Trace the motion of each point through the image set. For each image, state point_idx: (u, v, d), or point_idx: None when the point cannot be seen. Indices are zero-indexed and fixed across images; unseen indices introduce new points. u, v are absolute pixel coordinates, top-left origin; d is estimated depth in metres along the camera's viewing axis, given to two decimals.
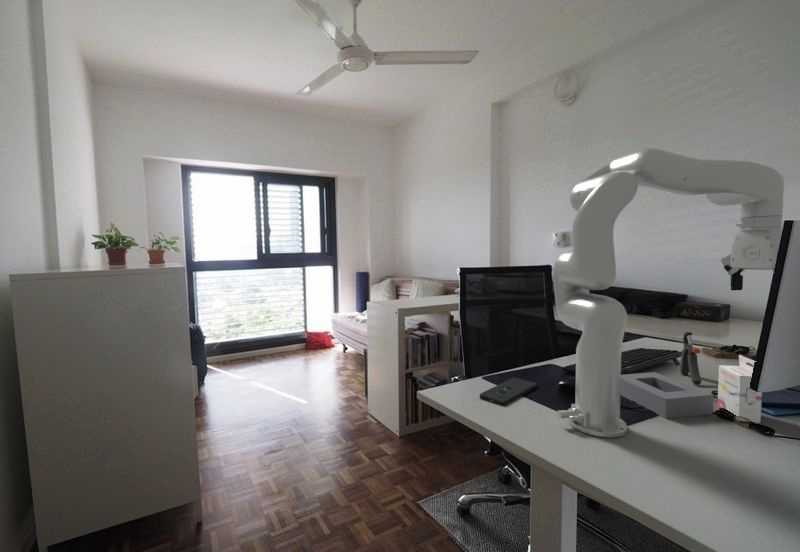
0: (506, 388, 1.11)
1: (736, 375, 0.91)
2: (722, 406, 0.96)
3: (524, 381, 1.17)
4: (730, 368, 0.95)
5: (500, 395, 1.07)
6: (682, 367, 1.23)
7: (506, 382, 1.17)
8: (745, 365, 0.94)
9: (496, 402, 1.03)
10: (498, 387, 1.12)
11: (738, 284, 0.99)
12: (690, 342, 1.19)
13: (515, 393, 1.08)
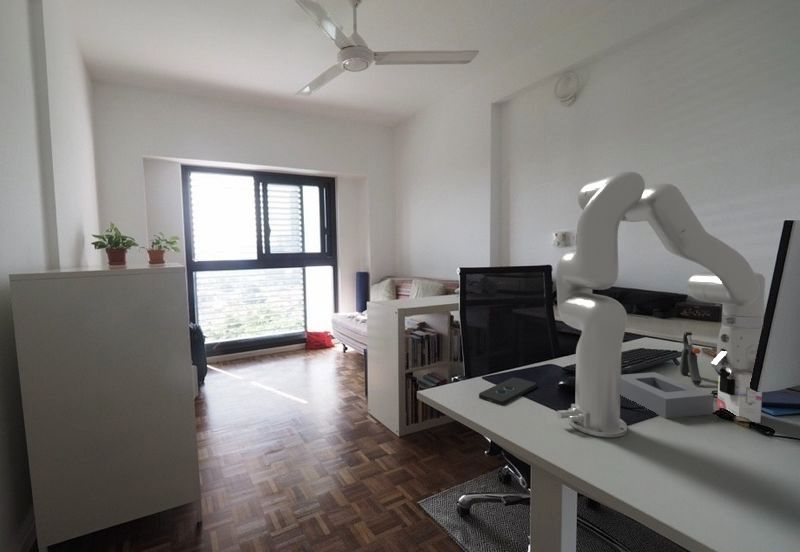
0: (505, 388, 1.12)
1: (736, 375, 0.91)
2: (722, 406, 0.96)
3: (524, 381, 1.18)
4: None
5: (499, 394, 1.07)
6: (682, 367, 1.23)
7: (506, 382, 1.17)
8: None
9: (495, 401, 1.04)
10: (497, 387, 1.13)
11: None
12: (690, 342, 1.19)
13: (515, 393, 1.08)
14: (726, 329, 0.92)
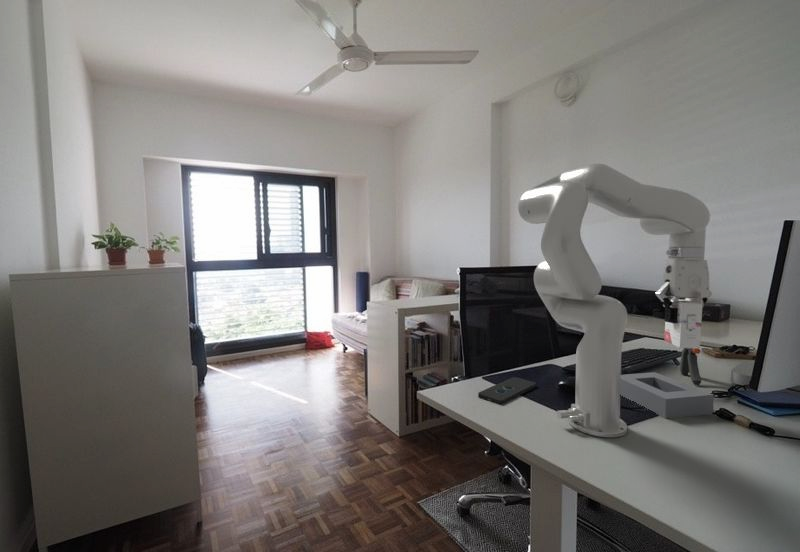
0: (505, 387, 1.12)
1: (678, 303, 0.96)
2: (668, 337, 1.01)
3: (524, 381, 1.18)
4: None
5: (498, 393, 1.08)
6: (682, 367, 1.23)
7: (506, 381, 1.17)
8: None
9: (494, 401, 1.04)
10: (497, 386, 1.13)
11: None
12: None
13: (514, 392, 1.08)
14: (670, 261, 0.97)
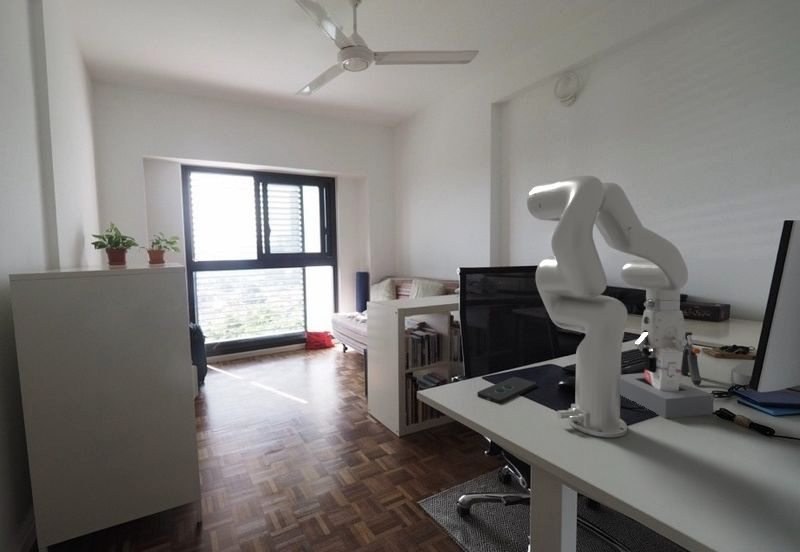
0: (505, 387, 1.12)
1: (660, 351, 0.98)
2: (648, 377, 1.05)
3: (524, 380, 1.18)
4: None
5: (498, 393, 1.08)
6: (682, 367, 1.23)
7: (506, 381, 1.18)
8: None
9: (493, 400, 1.05)
10: (497, 386, 1.14)
11: None
12: (690, 342, 1.19)
13: (513, 392, 1.09)
14: (648, 312, 1.01)
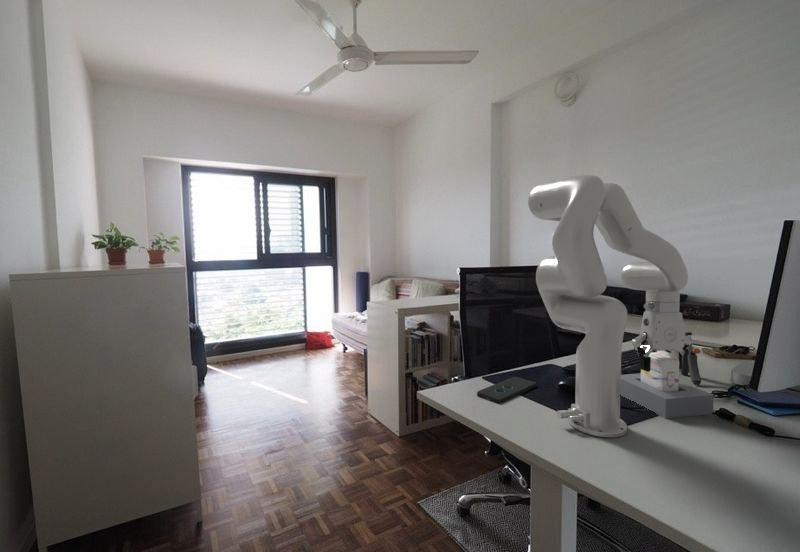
0: (504, 386, 1.13)
1: (659, 361, 0.99)
2: None
3: (524, 380, 1.18)
4: (651, 354, 1.04)
5: (497, 393, 1.08)
6: (682, 367, 1.23)
7: (506, 381, 1.18)
8: (662, 351, 1.04)
9: (492, 400, 1.05)
10: (496, 386, 1.14)
11: None
12: (690, 342, 1.19)
13: (513, 392, 1.09)
14: (647, 314, 1.01)
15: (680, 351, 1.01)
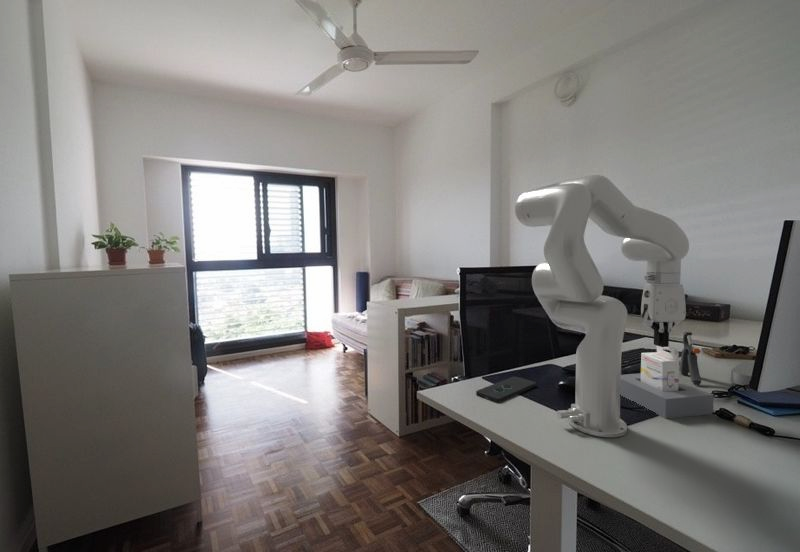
0: (504, 386, 1.13)
1: (659, 361, 0.99)
2: None
3: (524, 380, 1.18)
4: (651, 354, 1.04)
5: (496, 392, 1.09)
6: (682, 367, 1.23)
7: (506, 380, 1.18)
8: (662, 351, 1.04)
9: (491, 399, 1.05)
10: (496, 385, 1.14)
11: None
12: (690, 342, 1.19)
13: (512, 391, 1.09)
14: (648, 286, 1.00)
15: (667, 328, 1.00)
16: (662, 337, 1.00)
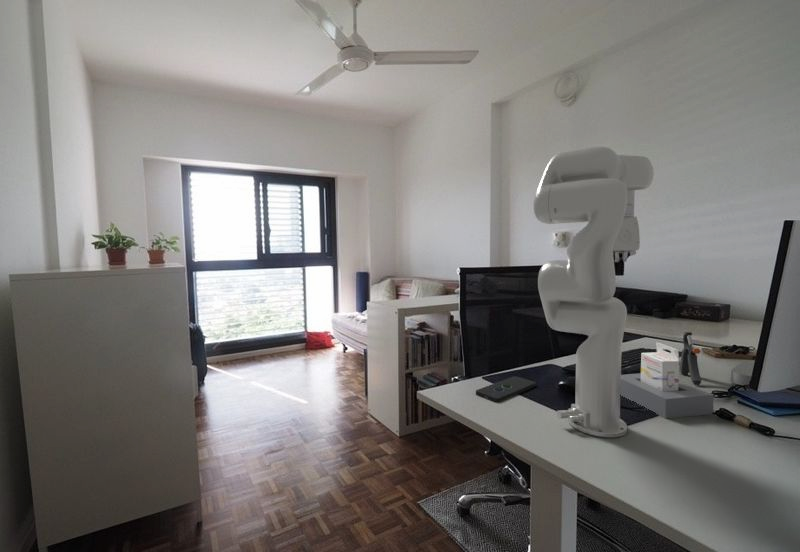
0: (504, 386, 1.13)
1: (659, 361, 0.99)
2: None
3: (524, 380, 1.18)
4: (651, 354, 1.04)
5: (496, 392, 1.09)
6: (682, 367, 1.23)
7: (505, 380, 1.18)
8: (662, 351, 1.04)
9: (490, 398, 1.06)
10: (496, 385, 1.14)
11: None
12: (690, 342, 1.19)
13: (512, 391, 1.09)
14: None
15: (622, 258, 1.08)
16: (618, 266, 1.08)
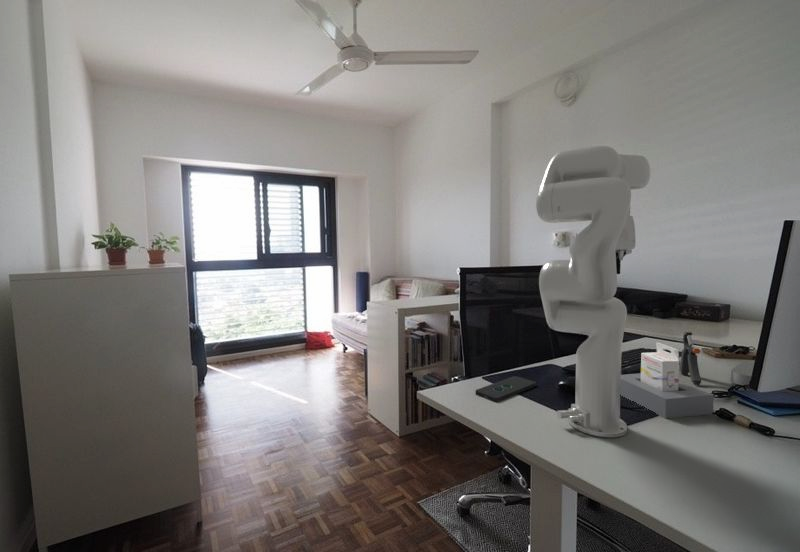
0: (503, 385, 1.13)
1: (659, 361, 0.99)
2: None
3: (524, 380, 1.19)
4: (651, 354, 1.04)
5: (495, 391, 1.09)
6: (682, 367, 1.23)
7: (505, 380, 1.19)
8: (662, 351, 1.04)
9: (490, 398, 1.06)
10: (496, 385, 1.15)
11: None
12: (690, 342, 1.19)
13: (511, 391, 1.10)
14: None
15: (619, 257, 1.09)
16: None
